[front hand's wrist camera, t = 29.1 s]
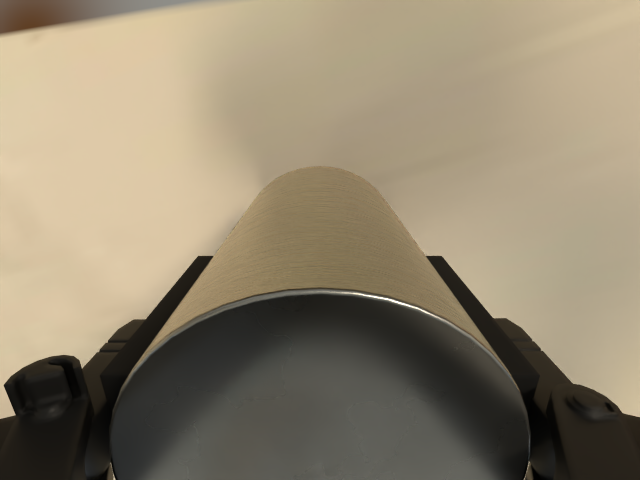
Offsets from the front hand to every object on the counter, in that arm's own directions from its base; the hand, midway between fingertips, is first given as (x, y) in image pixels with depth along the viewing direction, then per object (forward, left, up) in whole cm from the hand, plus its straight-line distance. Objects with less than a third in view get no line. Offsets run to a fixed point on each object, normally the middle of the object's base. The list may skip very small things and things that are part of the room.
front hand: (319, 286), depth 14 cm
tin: (0, 0, -5) cm, 5 cm away
